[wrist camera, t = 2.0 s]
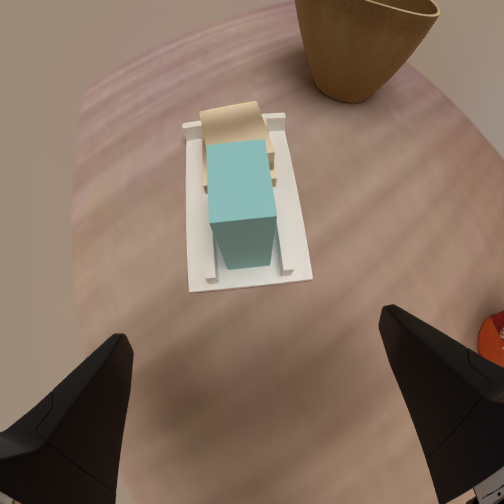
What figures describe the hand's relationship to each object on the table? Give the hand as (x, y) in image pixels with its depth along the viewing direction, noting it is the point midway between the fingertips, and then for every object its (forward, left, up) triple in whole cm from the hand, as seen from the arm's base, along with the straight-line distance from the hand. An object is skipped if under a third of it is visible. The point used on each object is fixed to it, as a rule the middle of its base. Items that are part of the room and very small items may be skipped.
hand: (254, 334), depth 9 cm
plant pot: (+31, +4, -14) cm, 34 cm away
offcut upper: (+13, +9, -11) cm, 19 cm away
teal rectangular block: (+7, +5, -13) cm, 16 cm away
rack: (+10, +7, -14) cm, 18 cm away
